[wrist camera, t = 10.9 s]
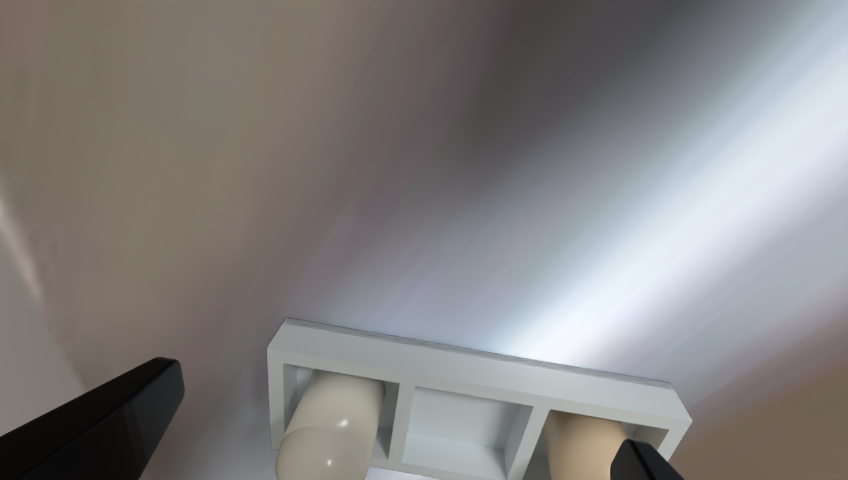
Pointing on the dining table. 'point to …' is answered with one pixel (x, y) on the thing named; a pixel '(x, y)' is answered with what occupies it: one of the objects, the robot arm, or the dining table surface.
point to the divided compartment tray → (464, 401)
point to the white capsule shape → (332, 429)
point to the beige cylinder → (581, 445)
